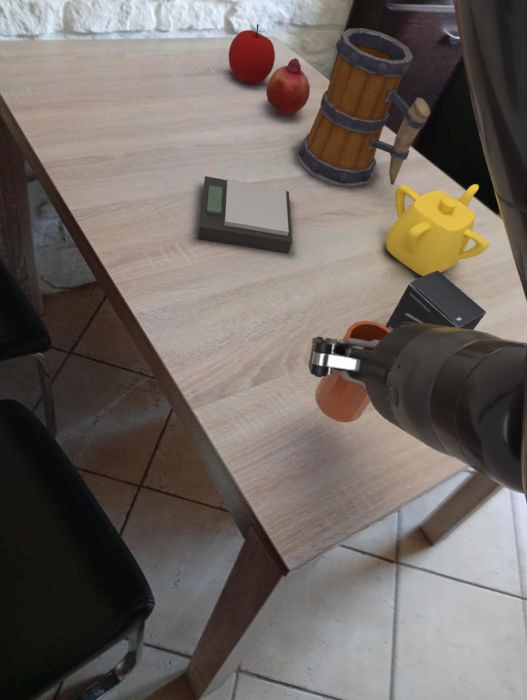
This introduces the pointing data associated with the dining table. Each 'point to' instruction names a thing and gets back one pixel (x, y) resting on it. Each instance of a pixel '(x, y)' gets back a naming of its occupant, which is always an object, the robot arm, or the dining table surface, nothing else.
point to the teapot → (433, 230)
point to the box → (435, 305)
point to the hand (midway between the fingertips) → (356, 353)
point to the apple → (251, 57)
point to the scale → (245, 215)
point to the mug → (361, 111)
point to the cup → (342, 395)
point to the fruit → (288, 88)
